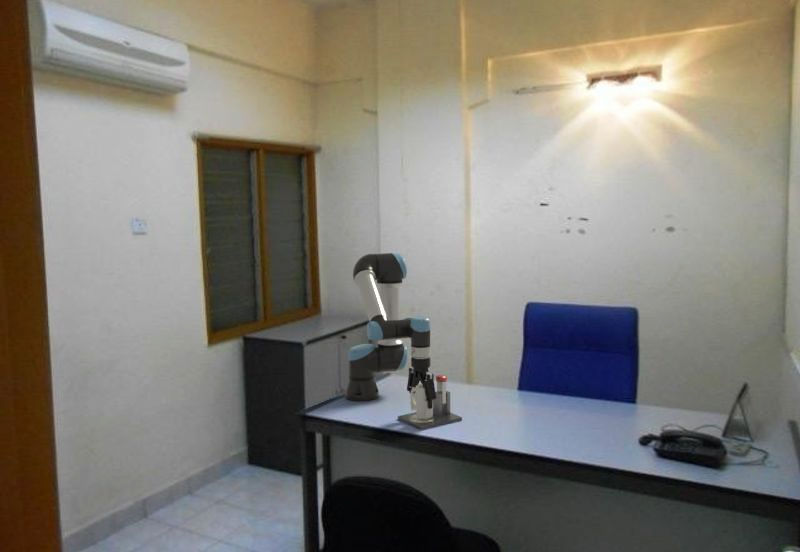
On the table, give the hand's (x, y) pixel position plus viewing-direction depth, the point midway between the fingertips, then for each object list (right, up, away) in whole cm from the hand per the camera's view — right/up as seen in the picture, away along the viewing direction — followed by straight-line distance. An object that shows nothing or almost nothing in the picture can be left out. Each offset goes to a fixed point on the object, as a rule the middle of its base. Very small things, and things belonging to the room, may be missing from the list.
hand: (421, 412), depth 238 cm
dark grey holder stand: (+3, -3, +2) cm, 5 cm away
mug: (0, -1, 0) cm, 1 cm away
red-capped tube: (+8, +3, +5) cm, 10 cm away
